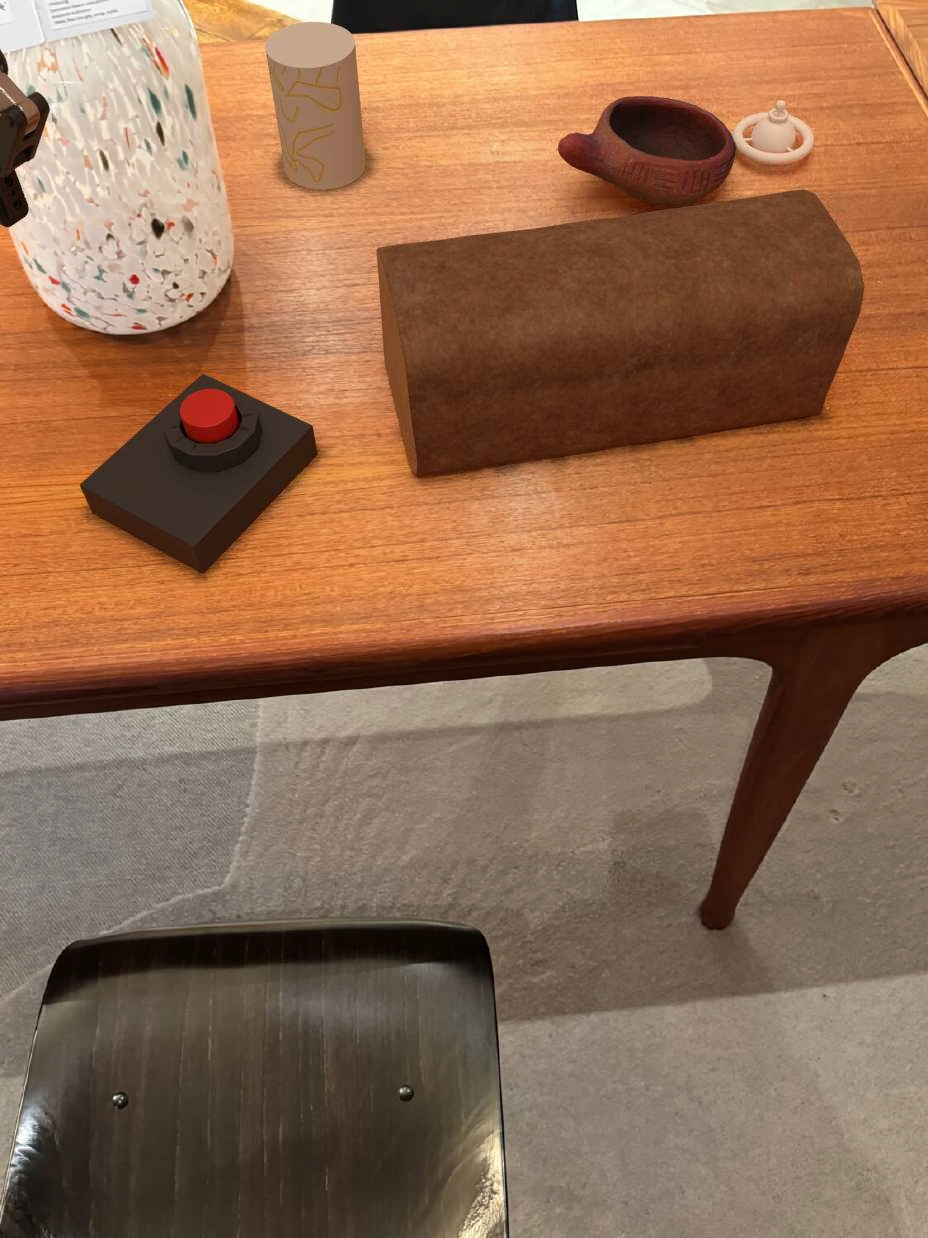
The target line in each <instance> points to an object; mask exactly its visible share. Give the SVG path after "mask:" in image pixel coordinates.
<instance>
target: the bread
mask: <svg viewBox="0 0 928 1238" xmlns="http://www.w3.org/2000/svg"><path fill="white" fill-rule="evenodd" d="M375 253H376V263H377V274H378V275H377V276H378V290H379V304H380V305H379V306H380V317H381V331H382V333H381V334H382V347H383V357H384V358H383V359H384V367H385V371H386V375H387V380H388V383H389V387H390V391H391V395H392V400H393V403H394V408H395V412H396V416H397V420H398V424H399V428H400V429H399V430H400V433H401V437H402V442H403V446H404V452H405V455H406V459H407V463H408V467H409V468H410V469H411V470H412V472H413V473H414V474H415V476H416V477H418V478H426V477H434V476H440V475H449V474H450V475H451V474H455V473H462V472H463V473H464V472H470V471H476V470H482V469H486V468H494V467H498V466H505V465H511V464H516V463H522V462H528V461H535V460H542V459H550V458H557V457H566V456H572V455H575V454H576V455H577V454H584V453H590V452H596V451H602V450H606V449H611V448H617V447H623V446H630V445H638V444H646V443H653V442H659V441H664V440H665V441H666V440H671V439H677V438H684V437H689V436H695V435H700V434H707V433H711V432H718V431H725V430H730V429H736V428H742V427H749V426H755V425H763V424H770V423H776V422H780V421H781V422H783V421H787V420H792V419H798V418H804V417H808V416H812V415H813V416H814V415H818V414H821V413H822V412H823V411H824V407H825V403H826V400H827V396H828V394H829V391H830V388H831V386H832V384H833V382H834V379H835V376H836V375H837V372H838V369H839V367H840V365H841V362H842V360H843V358H844V356H845V352H846V350H847V348H848V344H849V341H850V339H851V336H852V333H853V331H854V329H855V327H856V324H857V322H858V320H859V318H860V315H861V311H862V305H863V298H864V293H865V284H864V283H865V282H864V277H863V273H862V268H861V263H860V261H859V259H858V257H857V255H856V253H855V252H854V250H853V249H852V246H851V245H850V243H849V241H848V240H847V238H846V237H845V234H843V232H842V230H841V229H840V227H839V226H838V224H837V223H836V221H835V220H834V218H833V217H832V216H831V213H830V212H829V211H828V210H827V208H826V206H825V205H824V203H822V201H821V200H820V198H819V196H818V195H817V194H816V193H814V192H812V191H809V190H807V189H794V190H786V191H781V192H776V193H770V194H764V195H756V196H750V197H744V198H743V197H742V198H736V199H729V200H721V201H714V202H713V201H712V202H708V203H702V204H696V205H690V206H684V207H683V206H681V207H673V208H668V209H659V210H652V211H646V212H642V213H636V214H630V215H624V216H615V217H604V218H594V219H586V220H581V221H580V220H579V221H574V222H567V223H561V224H554V225H549V226H542V227H535V228H528V229H518V230H516V229H515V230H508V231H498V232H489V233H478V234H471V235H464V236H457V237H456V236H455V237H449V238H443V239H435V240H427V241H419V242H417V241H416V242H408V243H400V244H392V245H391V244H390V245H386V246H379V247H377V248H376V251H375Z"/></svg>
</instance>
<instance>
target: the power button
mask: <svg viewBox="0 0 928 1238" xmlns="http://www.w3.org/2000/svg"><path fill="white" fill-rule="evenodd" d="M180 416H181V419H182V422H183V425H184V429H185V431H186V433H187V435H188V436H189V437H190V438H191V439H193V440H195V441H197V442H200V443H215V442H219V441H222V440H224V439H226V438H228V437H229V436H231V435H232V434H233V433H234V431H235V430H236V428H237V425H238V417H237V413H236V409H235V405H234V401H233V399H232V398H231V396H230V395H229V394H227V393H226V392H224V391H221V390H217V389H204V390H200V391H197V392H194V393H192V394H191V395H189V396H188V397H187V398H186V399H185V400H184V401H183V402H182V404H181V407H180Z"/></svg>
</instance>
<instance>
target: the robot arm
mask: <svg viewBox="0 0 928 1238" xmlns="http://www.w3.org/2000/svg"><path fill="white" fill-rule="evenodd" d="M50 112H51V108H50V104H49V102H48V100H47V99H46V97H45V96H44V95H43V94H41V93H40V92H38V91H34V92H32V93H30V94H28V95H26V94H25V93H24V92H23V91H22V90H21V88H20V87H18V85H17V84H16V83H15V82H14V81H13V79H11V78H10V77H9V64H8V61H7V58H6V56H5V54H4V53H3V51H2V49H1V48H0V226H2V227H5V228H7V229H8V228H11V227H13V226H14V225H16V224H17V223H19V222H20V221H21V220H23V219H24V218H26V217H27V216H28V214H29V212H30V208H29V202H28V200H27V197H26V195H25V192H24V190H23V187H22V184H21V182H20V179H19V175H18V174H17V171H16V169H18V168H19V167H21V166H22V165H24V164H25V163H29V162H30V161H32V160H33V159H34V158H35V157H36V154H37V150H38V149H39V146H40V142H41V139H42V136H43V133H44V130H45V128H46V127H45V126H46V124H47V121H48V118H49V115H50Z"/></svg>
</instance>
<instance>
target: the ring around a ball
mask: <svg viewBox="0 0 928 1238" xmlns="http://www.w3.org/2000/svg"><path fill="white" fill-rule="evenodd" d="M786 105H787V104H786V102H785V101H784V100H782V99H780V100H777V102H776V103H775V106H774V107H773V108H771V109H770V110H768V111H767V112H766V111H763V112H758V113H753V114H750V115H748V116H746V117H744V118H742V119H741V120H739V121H738V123H736V125H735V126H734V127H733V130H732V132H731V134H732V137H733V140H734V141H735V142H736V151H738V152H739V154H740V155H742V156H743V157H745V158H746V159H748V160H750V161H752V162H755V163H758V164H763V165H768V166H769V165H770V166H783V165H789V164H793V163H796V162H799V161H800V160H801V161H802V159H804V158H806V157H807V156H808V155H809V154H810V153H811V151H812V150H813V148H814V144H815V135H814V132H813V131H812V129H811V127H810V126H809V125H808V124H807V123H805V121H803V120H802V119H799V118H798V117H796V116H793V115H790V113H789V112H788V110H786ZM752 127H753V129H752V132H751V134H750V137H746V138H745V137H744V133H745V132H746V131H747V130H748V129H751V128H752ZM797 134H798V135H800V137H801V138H802V144H801V145H800V146H799V147H797V148H796V149H793V148H794V146H795V143H796V137H797V136H796V135H797ZM748 142H750V145H749V143H748Z"/></svg>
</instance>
